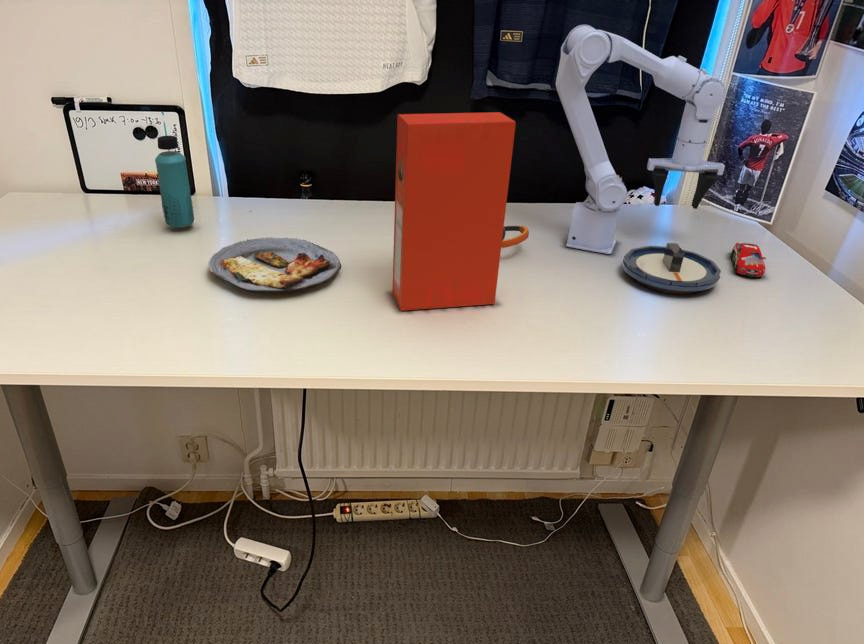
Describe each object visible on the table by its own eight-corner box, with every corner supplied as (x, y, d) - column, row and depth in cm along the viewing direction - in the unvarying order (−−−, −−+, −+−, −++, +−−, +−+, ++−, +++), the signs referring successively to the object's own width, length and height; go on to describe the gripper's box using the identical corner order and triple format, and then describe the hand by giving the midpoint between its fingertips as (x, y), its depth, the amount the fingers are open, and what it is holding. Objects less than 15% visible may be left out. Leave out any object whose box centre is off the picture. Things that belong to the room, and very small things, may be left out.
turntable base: (629, 285, 131) (630, 278, 131) (637, 261, 141) (638, 254, 141) (701, 299, 127) (703, 292, 126) (704, 273, 137) (706, 266, 136)
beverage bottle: (202, 227, 152) (190, 135, 141) (179, 236, 147) (166, 142, 137) (181, 221, 155) (168, 131, 144) (158, 229, 150) (143, 137, 140)
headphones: (456, 213, 155) (540, 211, 144) (459, 236, 158) (542, 235, 147) (420, 236, 143) (508, 236, 132) (424, 260, 146) (511, 262, 135)
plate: (613, 250, 141) (618, 228, 139) (702, 255, 140) (709, 233, 138) (633, 288, 126) (638, 264, 124) (732, 294, 125) (740, 270, 123)
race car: (764, 282, 134) (770, 263, 132) (734, 277, 136) (740, 259, 134) (756, 256, 145) (762, 239, 143) (729, 252, 146) (734, 235, 144)
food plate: (363, 274, 133) (364, 257, 131) (270, 313, 118) (268, 295, 117) (281, 239, 147) (280, 223, 145) (188, 270, 133) (186, 253, 131)
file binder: (391, 291, 127) (397, 113, 110) (480, 285, 130) (499, 111, 113) (401, 312, 120) (408, 125, 103) (494, 305, 123) (516, 122, 106)
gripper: (658, 142, 133) (642, 209, 141) (735, 147, 132) (716, 214, 139) (652, 134, 139) (637, 198, 147) (726, 138, 138) (707, 203, 145)
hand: (675, 205), depth 143 cm, fingers open, 7 cm apart
